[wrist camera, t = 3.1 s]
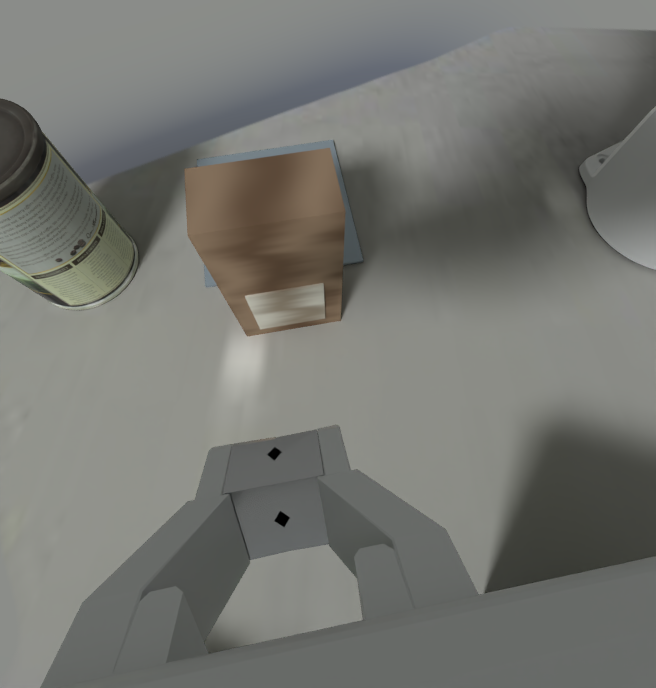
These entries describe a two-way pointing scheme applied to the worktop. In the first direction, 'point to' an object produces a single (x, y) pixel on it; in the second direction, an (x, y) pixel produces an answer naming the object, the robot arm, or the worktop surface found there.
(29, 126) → the coffee can
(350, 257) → the mat
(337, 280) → the cardboard box
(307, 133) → the worktop surface
